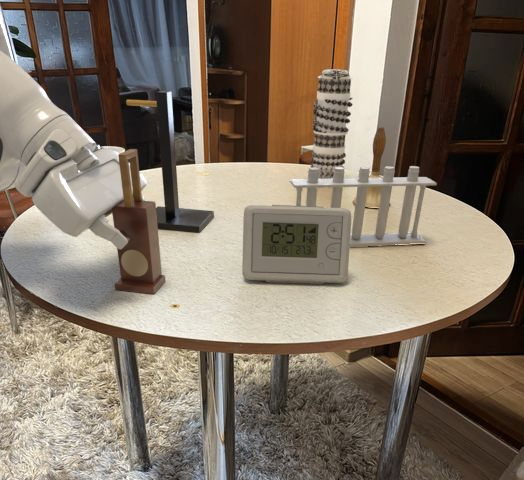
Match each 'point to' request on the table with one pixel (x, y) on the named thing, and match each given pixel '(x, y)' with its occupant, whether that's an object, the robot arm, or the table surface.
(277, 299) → the table surface
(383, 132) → the hand bell
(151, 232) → the clock
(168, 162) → the stand
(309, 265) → the digital clock
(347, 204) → the table surface
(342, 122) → the white patterned cylinder
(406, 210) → the test tube rack
